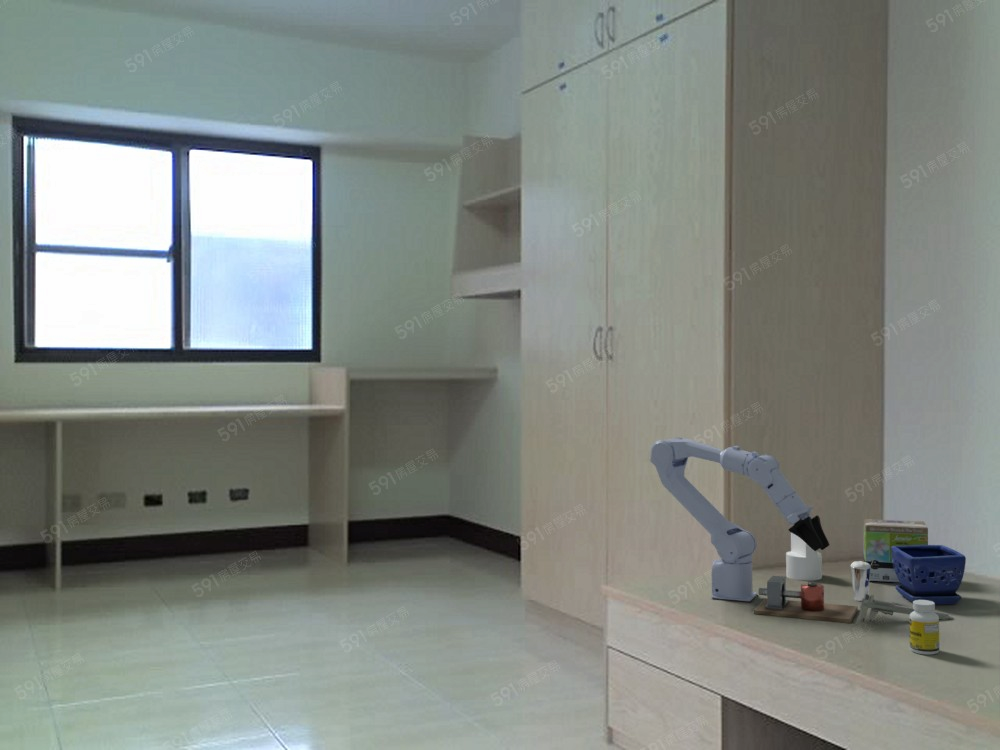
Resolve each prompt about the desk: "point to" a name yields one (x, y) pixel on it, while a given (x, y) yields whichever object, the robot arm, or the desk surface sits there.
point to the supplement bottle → (924, 628)
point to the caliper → (888, 609)
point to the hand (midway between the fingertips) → (822, 548)
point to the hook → (805, 595)
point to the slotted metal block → (776, 593)
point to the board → (811, 612)
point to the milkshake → (860, 579)
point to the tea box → (889, 544)
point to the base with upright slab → (803, 561)
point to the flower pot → (928, 572)
